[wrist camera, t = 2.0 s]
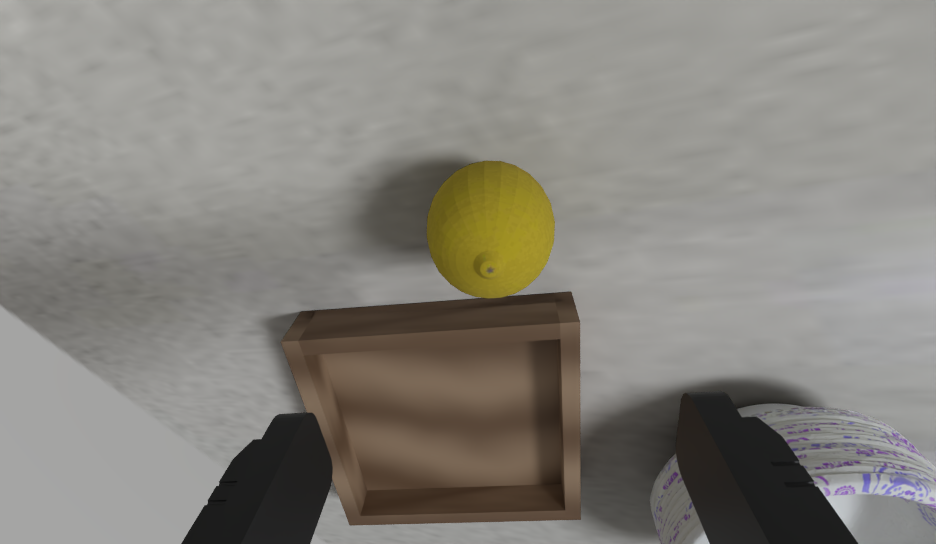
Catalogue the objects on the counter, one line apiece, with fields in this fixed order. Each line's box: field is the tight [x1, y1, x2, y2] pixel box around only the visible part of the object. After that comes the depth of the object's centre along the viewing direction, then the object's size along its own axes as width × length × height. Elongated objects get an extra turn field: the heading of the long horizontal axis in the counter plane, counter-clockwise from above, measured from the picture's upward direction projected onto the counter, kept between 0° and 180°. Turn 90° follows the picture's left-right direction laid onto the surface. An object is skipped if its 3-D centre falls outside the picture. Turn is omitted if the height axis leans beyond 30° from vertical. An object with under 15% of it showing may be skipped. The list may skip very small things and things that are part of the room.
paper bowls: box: [650, 404, 936, 544], centre depth 28 cm, size 15×15×8 cm
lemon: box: [427, 161, 555, 298], centre depth 20 cm, size 6×6×8 cm
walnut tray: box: [281, 292, 581, 525], centre depth 29 cm, size 16×16×3 cm
